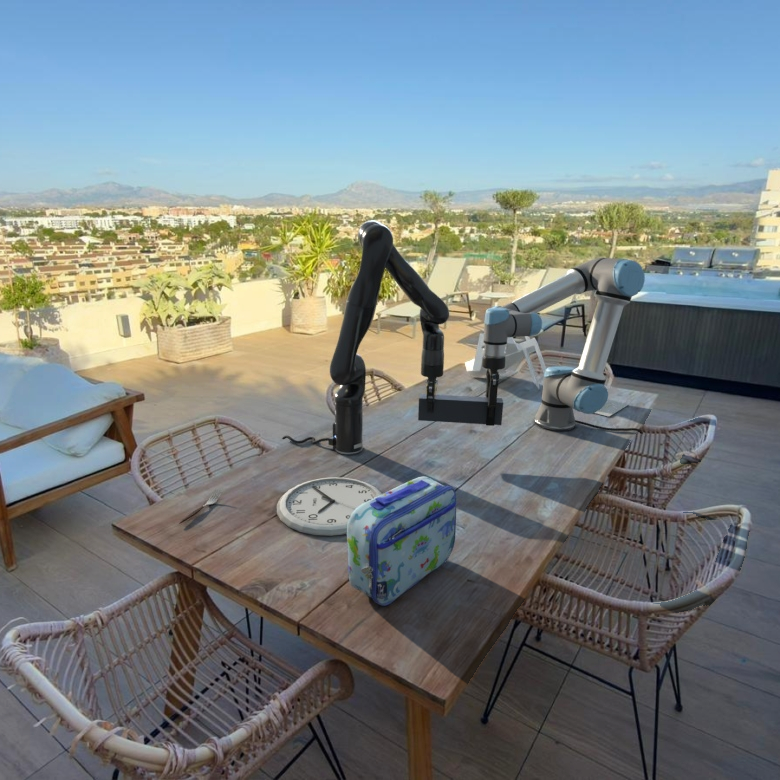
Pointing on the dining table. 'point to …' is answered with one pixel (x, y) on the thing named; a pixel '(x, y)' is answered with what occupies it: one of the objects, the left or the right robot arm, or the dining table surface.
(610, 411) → the invitation card
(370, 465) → the dining table surface
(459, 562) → the dining table surface
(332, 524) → the wall clock
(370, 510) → the lunch box
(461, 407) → the beam
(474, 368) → the white plastic object
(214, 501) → the fork
